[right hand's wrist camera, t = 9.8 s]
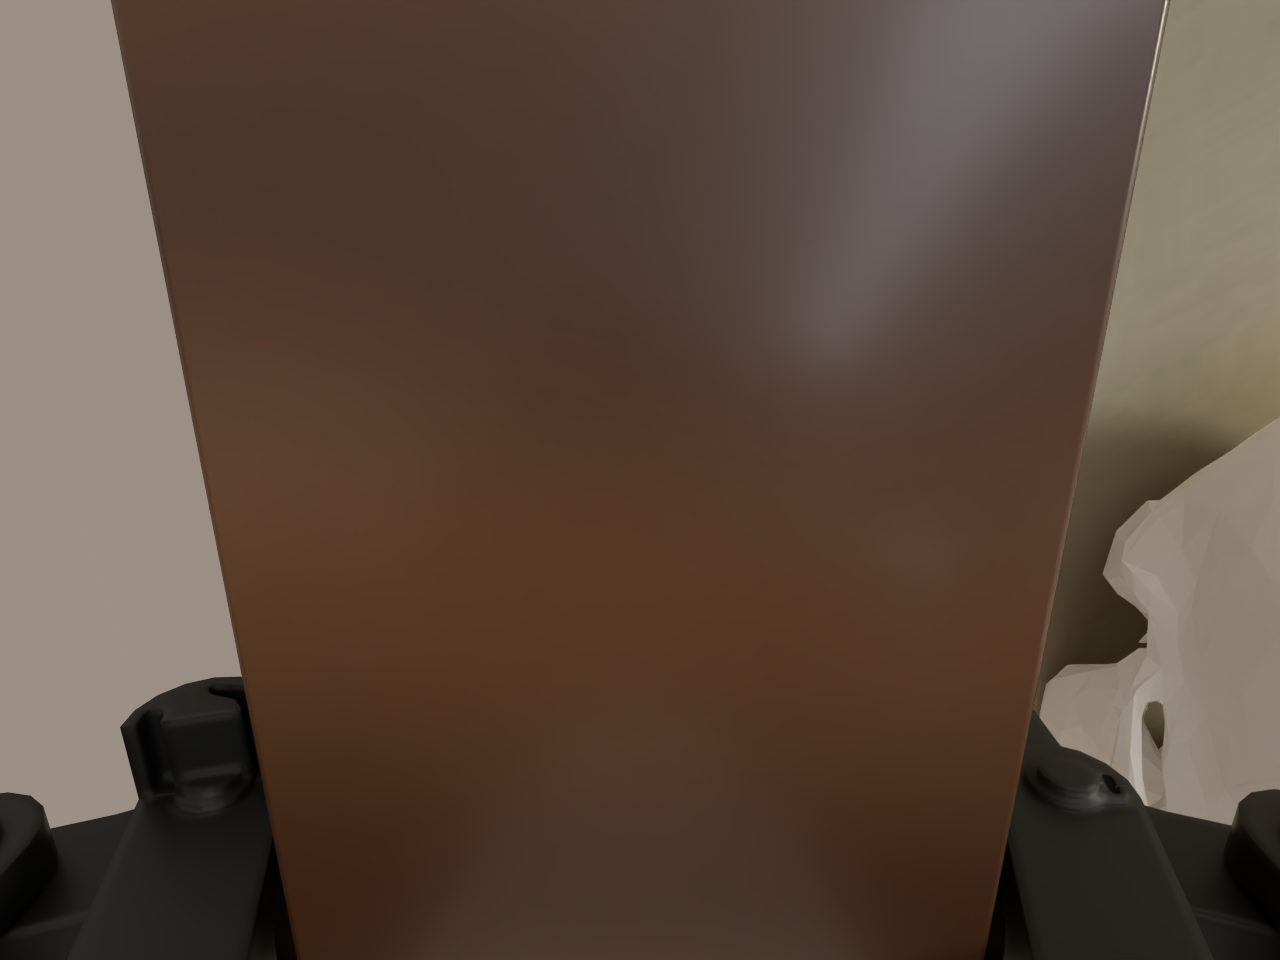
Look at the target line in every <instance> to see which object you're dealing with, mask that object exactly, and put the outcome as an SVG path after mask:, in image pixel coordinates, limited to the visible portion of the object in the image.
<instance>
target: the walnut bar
mask: <svg viewBox="0 0 1280 960" xmlns="http://www.w3.org/2000/svg"><path fill="white" fill-rule="evenodd" d="M111 3H112V8H113V14H114V19H115V24H116V29H117V34H118V39H119V45H120V50H121V55H122V60H123V65H124V70H125V75H126V81H127V86H128V91H129V96H130V101H131V106H132V112H133V117H134V122H135V127H136V132H137V137H138V143H139V148H140V153H141V158H142V163H143V168H144V174H145V179H146V184H147V189H148V194H149V199H150V205H151V210H152V215H153V220H154V225H155V230H156V235H157V241H158V246H159V251H160V256H161V261H162V266H163V272H164V276H165V282H166V287H167V292H168V297H169V302H170V308H171V313H172V318H173V323H174V328H175V333H176V339H177V344H178V349H179V354H180V359H181V364H182V369H183V375H184V380H185V385H186V390H187V395H188V400H189V405H190V411H191V416H192V421H193V426H194V431H195V436H196V442H197V447H198V452H199V457H200V462H201V467H202V473H203V478H204V483H205V488H206V493H207V498H208V504H209V509H210V514H211V519H212V524H213V529H214V534H215V540H216V545H217V550H218V555H219V560H220V565H221V571H222V576H223V581H224V586H225V591H226V596H227V602H228V607H229V612H230V617H231V622H232V627H233V632H234V637H235V643H236V648H237V653H238V658H239V663H240V669H241V674H242V679H243V684H244V689H245V694H246V700H247V705H248V710H249V715H250V720H251V725H252V730H253V736H254V741H255V746H256V751H257V756H258V761H259V767H260V772H261V777H262V782H263V787H264V792H265V798H266V803H267V808H268V813H269V818H270V823H271V828H272V834H273V839H274V844H275V849H276V854H277V859H278V865H279V870H280V875H281V880H282V885H283V890H284V895H285V901H286V906H287V911H288V916H289V921H290V926H291V932H292V937H293V942H294V947H295V952H296V957H297V960H984V956H985V951H986V946H987V941H988V936H989V931H990V926H991V920H992V915H993V910H994V905H995V900H996V895H997V890H998V884H999V879H1000V874H1001V869H1002V864H1003V859H1004V854H1005V848H1006V843H1007V838H1008V833H1009V828H1010V823H1011V818H1012V812H1013V807H1014V802H1015V797H1016V792H1017V787H1018V782H1019V776H1020V771H1021V766H1022V761H1023V756H1024V751H1025V746H1026V740H1027V735H1028V730H1029V725H1030V720H1031V715H1032V710H1033V704H1034V699H1035V694H1036V689H1037V684H1038V679H1039V674H1040V668H1041V663H1042V658H1043V653H1044V648H1045V643H1046V638H1047V632H1048V627H1049V622H1050V617H1051V612H1052V607H1053V602H1054V596H1055V591H1056V586H1057V581H1058V576H1059V571H1060V566H1061V560H1062V555H1063V550H1064V545H1065V540H1066V535H1067V530H1068V524H1069V519H1070V514H1071V509H1072V504H1073V499H1074V494H1075V488H1076V483H1077V478H1078V473H1079V468H1080V463H1081V458H1082V452H1083V447H1084V442H1085V437H1086V432H1087V427H1088V422H1089V416H1090V411H1091V406H1092V401H1093V396H1094V391H1095V386H1096V380H1097V375H1098V370H1099V365H1100V360H1101V355H1102V350H1103V344H1104V339H1105V334H1106V329H1107V324H1108V319H1109V314H1110V308H1111V303H1112V298H1113V293H1114V288H1115V283H1116V278H1117V272H1118V267H1119V262H1120V257H1121V252H1122V247H1123V242H1124V236H1125V231H1126V226H1127V221H1128V216H1129V211H1130V206H1131V200H1132V195H1133V190H1134V185H1135V180H1136V175H1137V170H1138V164H1139V159H1140V154H1141V149H1142V144H1143V139H1144V134H1145V128H1146V123H1147V118H1148V113H1149V108H1150V103H1151V98H1152V92H1153V87H1154V82H1155V77H1156V72H1157V67H1158V62H1159V56H1160V51H1161V46H1162V41H1163V36H1164V31H1165V26H1166V20H1167V15H1168V10H1169V5H1170V0H111Z"/></svg>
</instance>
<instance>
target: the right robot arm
mask: <svg viewBox="0 0 1280 960" xmlns="http://www.w3.org/2000/svg"><path fill="white" fill-rule="evenodd" d="M120 728H121V732H122V736H123V740H124V744H125V748H126V751H127V755H128V759H129V763H130V767H131V771H132V774H133V778H134V782H135V786H136V789H137V793H138V797H139V800H138V802H137V805H136V807H135V809H134V810H130V811H127V812H123V813H119V814H116V815H111V816H107V817H102V818H98V819H93V820H88V821H84V822H79V823H75V824H70V825H65V826H61V827H56V828H52V829H50V827H49V823H48V820H47V817H46V814H45V811H44V807H43V806H42V805H41V804H40V803H39V802H37V801H36V800H35V799H34V798H33V797H31V796H28V795H22V794H15V793H0V960H297V957H296V952H295V947H294V942H293V937H292V932H291V926H290V921H289V916H288V911H287V906H286V901H285V895H284V890H283V885H282V880H281V875H280V870H279V865H278V859H277V854H276V849H275V844H274V839H273V834H272V828H271V823H270V818H269V813H268V808H267V803H266V798H265V792H264V787H263V782H262V777H261V772H260V767H259V761H258V756H257V751H256V746H255V741H254V736H253V730H252V725H251V720H250V715H249V710H248V705H247V700H246V694H245V689H244V684H243V679H242V677H217V678H210V679H206V680H201V681H197V682H192V683H188V684H184V685H182V686H179V687H177V688H174V689H172V690H170V691H167V692H165V693H162V694H160V695H158V696H156V697H154V698H153V699H151V700H150V701H148V702H147V703H145V704H144V705H142V706H141V707H139V708H138V709H136V710H135V711H134V712H133V713H132V714H131V715H130V716H129V718H128V719H127V720H126V721H125V722H124V723H123V725H122V726H121V727H120ZM984 960H1280V790H1278V789H1270V790H1263V791H1256V792H1251V793H1250V794H1249V795H1247V796H1246V797H1245V798H1244V799H1243V800H1241V801H1240V802H1239V804H1238V807H1237V810H1236V813H1235V816H1234V820H1233V823H1232V825H1227V824H1223V823H1218V822H1213V821H1209V820H1204V819H1200V818H1195V817H1190V816H1186V815H1181V814H1176V813H1172V812H1167V811H1163V810H1160V809H1156V808H1153V807H1149V806H1146V805H1144V803H1143V801H1142V799H1141V797H1140V796H1139V794H1138V793H1137V792H1136V790H1135V789H1134V788H1133V786H1132V785H1131V784H1130V782H1129V781H1128V780H1127V779H1126V778H1125V777H1123V776H1122V775H1121V774H1119V773H1118V772H1117V771H1115V770H1114V769H1113V768H1111V767H1110V766H1109V765H1108V764H1106V763H1104V762H1102V761H1100V760H1098V759H1096V758H1094V757H1091V756H1089V755H1087V754H1085V753H1083V752H1081V751H1078V750H1074V749H1070V748H1066V747H1062V746H1060V744H1059V743H1058V742H1057V740H1056V739H1055V738H1054V736H1053V735H1052V734H1051V732H1050V731H1049V730H1048V728H1047V727H1046V726H1045V724H1044V723H1043V722H1042V720H1041V719H1040V718H1039V716H1038V715H1037V714H1036V712H1035V711H1034V710H1032V715H1031V720H1030V725H1029V730H1028V735H1027V740H1026V746H1025V751H1024V756H1023V761H1022V766H1021V771H1020V776H1019V782H1018V787H1017V792H1016V797H1015V802H1014V807H1013V812H1012V818H1011V823H1010V828H1009V833H1008V838H1007V843H1006V848H1005V854H1004V859H1003V864H1002V869H1001V874H1000V879H999V884H998V890H997V895H996V900H995V905H994V910H993V915H992V920H991V926H990V931H989V936H988V941H987V946H986V951H985V956H984Z"/></svg>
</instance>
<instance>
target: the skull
mask: <svg viewBox="0 0 1280 960" xmlns="http://www.w3.org/2000/svg"><path fill="white" fill-rule="evenodd" d="M1103 576H1104V577H1105V578H1106V580H1107V581H1108V582H1109V584H1110V585H1111V586H1112V587H1113V589H1114V590H1115V591H1116V593H1117V594H1118V595H1120V596H1121V597H1123V598H1124V599H1126V600H1127V601H1128V602H1130V603H1131V604H1133V605H1134V606H1136V608H1137V609H1138V610H1139V611H1140V612H1141V613H1142V614H1143V615H1144V616H1145V617H1146V618H1147V620H1148V630H1147V633H1146V634H1145V636H1144V637H1143V638H1142V639H1141V640H1140V641H1139V643H1147V648H1139V649H1137V650H1136V651H1134V652H1133V653H1131V654H1130V655H1128V656H1127V657H1125V658H1124V659H1122V660H1121V661H1120V662H1118V663H1113V664H1071V665H1066V666H1065V667H1064V668H1063V669H1062V670H1061V671H1060V672H1059V673H1058V674H1057V675H1056V676H1055V677H1054V678H1052V679H1051V680H1050V681H1049V682H1048V683H1047V684H1046V687H1045V692H1044V696H1043V701H1042V705H1041V710H1040V719H1041V720H1042V722H1043V723H1044V724H1045V726H1046V727H1047V728H1048V730H1049V731H1050V732H1051V734H1052V735H1053V736H1054V738H1055V739H1056V740H1057V742H1058V743H1059V744H1060V746H1062V747H1066V748H1070V749H1074V750H1078V751H1081V752H1083V753H1085V754H1087V755H1089V756H1091V757H1094V758H1096V759H1098V760H1100V761H1102V762H1104V763H1106V764H1108V765H1109V766H1110V767H1111V768H1113V769H1114V770H1115V771H1117V772H1118V773H1119V774H1121V775H1122V776H1123V777H1125V778H1126V779H1127V780H1128V781H1129V782H1130V784H1131V785H1132V786H1133V788H1134V789H1135V790H1136V792H1137V793H1138V794H1139V796H1140V797H1141V799H1142V801H1143V803H1144V805H1146V806H1149V807H1153V808H1156V809H1160V810H1163V811H1167V812H1172V813H1176V814H1181V815H1186V816H1190V817H1195V818H1200V819H1204V820H1209V821H1213V822H1218V823H1223V824H1227V825H1232V823H1233V820H1234V816H1235V813H1236V810H1237V807H1238V804H1239V802H1240V801H1241V800H1243V799H1244V798H1245V797H1246V796H1247V795H1249V794H1250V793H1251V792H1256V791H1263V790H1270V789H1278V790H1280V417H1278V418H1277V419H1275V420H1274V421H1272V422H1271V423H1269V424H1268V425H1266V426H1265V427H1263V428H1262V429H1260V430H1259V431H1257V432H1256V433H1254V434H1253V435H1251V436H1250V437H1249V438H1247V439H1246V440H1245V441H1243V442H1242V443H1240V444H1239V445H1238V446H1236V447H1235V448H1234V449H1232V450H1231V451H1229V452H1228V453H1226V454H1225V455H1223V456H1221V457H1220V458H1218V459H1217V460H1215V461H1214V462H1212V463H1210V464H1209V465H1207V466H1206V467H1204V468H1202V469H1201V470H1199V471H1198V472H1196V473H1195V474H1193V475H1192V476H1191V477H1189V478H1188V479H1187V480H1186V481H1184V482H1183V483H1182V484H1180V485H1179V486H1178V487H1176V488H1175V489H1174V490H1172V491H1171V492H1170V493H1169V494H1167V495H1166V496H1165V497H1163V498H1162V499H1161V500H1149V501H1146V502H1145V503H1144V504H1143V505H1142V506H1141V507H1140V508H1139V509H1138V510H1137V511H1136V512H1135V513H1134V514H1133V515H1132V516H1131V517H1130V518H1129V519H1128V520H1127V521H1126V522H1125V523H1124V524H1123V525H1122V526H1121V527H1120V528H1119V529H1118V530H1117V531H1116V534H1115V537H1114V540H1113V543H1112V546H1111V549H1110V552H1109V555H1108V558H1107V562H1106V565H1105V568H1104V571H1103ZM1154 701H1157V702H1158V703H1160V704H1162V705H1163V712H1164V721H1165V726H1164V742H1163V746H1161V747H1160V749H1159V750H1158V748H1157V746H1156V744H1155V742H1154V740H1153V738H1152V736H1151V734H1150V732H1149V730H1148V728H1147V726H1146V724H1145V723H1144V721H1143V719H1144V717H1145V714H1146V712H1147V709H1148V706H1149V704H1150V702H1154Z"/></svg>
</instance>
